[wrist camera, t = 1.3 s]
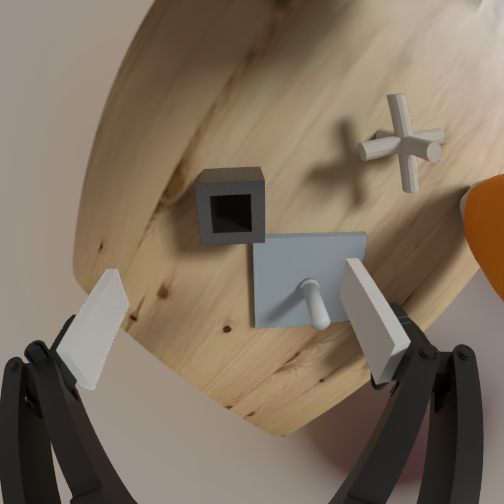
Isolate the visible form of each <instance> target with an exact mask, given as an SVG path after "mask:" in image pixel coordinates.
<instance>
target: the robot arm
mask: <svg viewBox="0 0 504 504" xmlns="http://www.w3.org/2000/svg"><path fill="white" fill-rule="evenodd" d="M339 298H340V300H341V302H342V304H343V307H344V309H345V311H346V313H347V316H348V318H349V320H350V323H351V325H352V327H353V330H354V332H355V334H356V337H357V339H358V341H359V344H360V346H361V348H362V351H363V353H364V356H365V358H366V361H367V363H368V366H369V368H370V371H371V373H372V376H373V378H374V381H375V384H376V385H377V384H381V383H385V382H389V381H391V379H392V377H393V375H394V374H395V376H396V378H397V381H396V383H395V385H394V386H393V388H392V390H391V391H390V393H391V395H390V397H389V399H388V402H387V404H386V406H385V408H384V411H383V413H382V415H381V417H380V419H379V421H378V423H377V425H376V427H375V429H374V431H373V433H372V435H371V437H370V439H369V440H368V442H367V444H366V446H365V448H364V450H363V451H362V453H361V455H360V456H359V458H358V460H357V462H356V463H355V465H354V467H353V468H352V470H351V471H350V473H349V475H348V476H347V478H346V479H345V481H344V482H343V484H342V485H341V487H340V488H339V490H338V491H337V493H336V494H335V496H334V497H333V498H332V500H331V501H330V502H329V503H328V504H386V502H387V499H388V498H389V496H390V494H391V492H392V490H393V489H394V487H395V485H396V483H397V481H398V479H399V477H400V475H401V473H402V470H403V468H404V466H405V464H406V462H407V459H408V457H409V455H410V452H411V450H412V448H413V445H414V443H415V440H416V437H417V435H418V432H419V429H420V427H421V424H422V421H423V418H424V415H425V412H426V409H427V405H428V402H429V399H430V419H429V432H428V442H427V451H426V458H425V466H424V471H423V477H422V483H421V487H420V492H419V496H418V501H417V504H479V497H480V489H481V481H482V468H483V412H482V399H481V389H480V381H479V374H478V368H477V361H476V356H475V353H474V351H473V350H472V349H471V348H470V347H468V346H467V345H463V344H460V345H457V346H456V347H455V348H454V350H453V351H452V352H440V351H438V349H437V348H436V347H435V346H433V345H431V344H430V343H424V341H423V339H422V338H421V336H420V334H419V333H418V331H417V330H416V328H415V326H414V325H413V323H411V320H410V318H409V317H408V315H407V314H406V312H405V311H404V309H403V308H402V307H401V306H399V305H398V304H397V303H389V304H388V303H387V301H386V299H385V298H384V296H383V295H382V293H381V292H380V290H379V289H378V287H377V285H376V284H375V282H374V281H373V279H372V278H371V276H370V275H369V273H368V272H367V270H366V269H365V267H364V266H363V264H362V263H361V261H360V260H359V259H358V258H348V259H346V261H345V267H344V273H343V279H342V285H341V291H340V296H339ZM129 306H130V305H129V302H128V299H127V297H126V294H125V291H124V288H123V285H122V282H121V279H120V275H119V272H118V269H106V271H105V272H104V273H103V275H102V276H101V278H100V279H99V281H98V282H97V284H96V285H95V287H94V288H93V290H92V291H91V293H90V294H89V296H88V298H87V299H86V301H85V302H84V304H83V306H82V307H81V309H80V310H79V312H78V313H77V315H72V316H71V317H70V318H69V319H68V320H67V321H66V323H65V324H64V326H63V329H61V331H60V334H59V335H58V336H57V338H56V339H55V341H54V343H53V345H52V346H51V348H50V350H49V349H48V348H47V346H46V345H45V343H44V342H43V341H40V340H37V341H33V342H32V343H30V344H29V345H28V346H27V347H26V349H25V352H24V356H25V357H26V358H27V360H28V361H29V362H30V363H26V364H25V363H24V362H23V361H22V359H21V358H19V357H14V358H11V359H10V360H9V361H8V362H7V364H6V366H5V369H4V375H3V382H2V390H1V398H0V481H1V490H2V497H3V503H4V504H61V500H60V496H59V491H58V487H57V482H56V477H55V471H54V465H53V458H52V451H51V444H52V446H53V449H54V452H55V455H56V458H57V460H58V463H59V465H60V468H61V470H62V473H63V475H64V477H65V479H66V482H67V484H68V486H69V488H70V491H71V493H72V496H73V498H72V499H71V500H70V504H138V503H137V502H136V501H135V500H134V499H133V498H132V496H131V495H130V493H129V492H128V490H127V489H126V487H125V486H124V484H123V482H122V481H121V479H120V478H119V476H118V474H117V473H116V471H115V469H114V468H113V466H112V464H111V462H110V460H109V458H108V457H107V455H106V453H105V451H104V449H103V447H102V445H101V443H100V441H99V439H98V437H97V435H96V433H95V431H94V429H93V427H92V424H91V422H90V420H89V418H88V415H87V413H86V411H85V408H84V406H83V403H82V401H81V398H80V395H79V393H78V390H77V389H76V387H75V384H76V381H77V382H78V383H79V384H80V385H81V387H82V388H86V389H91V390H94V389H95V387H96V384H97V381H98V379H99V376H100V374H101V371H102V368H103V366H104V363H105V361H106V358H107V356H108V353H109V351H110V349H111V346H112V344H113V341H114V339H115V337H116V334H117V332H118V330H119V328H120V325H121V323H122V321H123V319H124V316H125V314H126V312H127V310H128V308H129ZM430 395H431V396H430ZM25 397H26V400H25ZM50 441H51V442H50Z"/></svg>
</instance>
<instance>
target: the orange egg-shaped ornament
mask: <svg viewBox="0 0 504 504" xmlns="http://www.w3.org/2000/svg"><path fill="white" fill-rule="evenodd" d="M459 207H460V212H461V215H462V220H463V227H464V232H465V236H466V239H467V242H468V244H469V247H470V249H471V251H472V253H473V255H474V257H475V259H476V261H477V262H478V264H479V265H480V267H481V268H482V270H483V272H484V273H485V275H486V277H487V279H488V280H489V282H490V284H491V285H492V287H493V288H494V290H495V291H496V293H497V294H498V295H499V296H500V298H501V299H502V300H503V302H504V174H501V175H498V176H494V177H492V178H490V179H486V180H483V181H480V182H477V183H475V184H473V185H472V186H471V187H470V189H469V190H468V191H467V192H466V193H465V194H464V196H463V197H462V198H461V200H460V205H459Z"/></svg>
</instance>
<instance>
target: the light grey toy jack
mask: <svg viewBox="0 0 504 504" xmlns="http://www.w3.org/2000/svg"><path fill="white" fill-rule="evenodd" d="M387 99H388V104H389V108H390V113H391V117H392V122H393V127H394V131H389V130H385V129H380V130H378V131H377V133H376V140H371V141H366V142H362V143H359V144H358V151H359V154H360V157H361V159H362V160H363V161H367V160H372V159H376V158H380V157H385V156H389V155H394V154H398V156H399V163H400V171H401V179H402V189H403V191H404V192H406V193H415V192H417V191H418V190H419V186H418V175H417V165H416V157H415V156H417V157H420V158H422V159H425V160H427V161H430V162H433V163H436V162H438V161H439V160H440V159H441V156H442V149H441V146H440V145H444V143H445V135H444V133H443V131H442V130H441V129H432V130H425V131H419V132H413V133H412V130H411V124H410V119H409V114H408V109H407V104H406V99H405V95H404V94H390V95H387Z"/></svg>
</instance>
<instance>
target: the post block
mask: <svg viewBox="0 0 504 504" xmlns="http://www.w3.org/2000/svg"><path fill="white" fill-rule="evenodd" d="M367 237H368V235H367V234H366V233H365V232H339V233H301V234H271V235H265V243H253V270H254V308H255V329H257V328H276V327H291V326H304V325H312V326H313V328H314V329H316V330H323V329H325V328H327V327H328V326H329V324H330V323H336V322H346V321H350V320H349V318H348V316H347V313H346V311H345V309H344V307H343V304H342V302H341V300H340V298H339V296H340V291H341V285H342V279H343V273H344V267H345V261H346V259H348V258H358V259H359V260H360V261H361V263H362V264H363V260H364V254H365V249H366V243H367Z"/></svg>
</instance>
